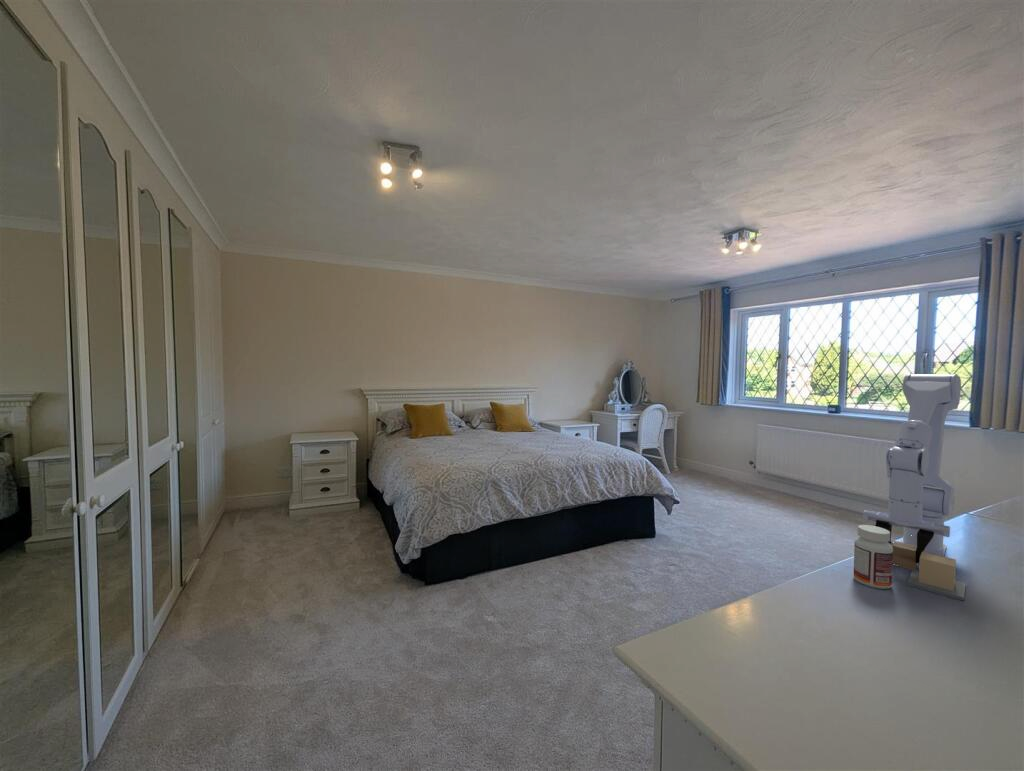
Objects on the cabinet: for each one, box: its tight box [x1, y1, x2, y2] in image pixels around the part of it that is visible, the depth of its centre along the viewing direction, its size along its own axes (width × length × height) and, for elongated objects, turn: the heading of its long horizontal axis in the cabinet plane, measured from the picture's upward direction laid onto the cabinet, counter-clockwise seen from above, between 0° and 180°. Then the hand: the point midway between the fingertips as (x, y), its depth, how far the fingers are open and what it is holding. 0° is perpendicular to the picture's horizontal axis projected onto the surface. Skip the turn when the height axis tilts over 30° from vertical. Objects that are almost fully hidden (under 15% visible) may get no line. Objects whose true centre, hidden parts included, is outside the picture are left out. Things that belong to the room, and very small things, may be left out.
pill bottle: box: [853, 524, 894, 590], centre depth 88 cm, size 6×6×11 cm
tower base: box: [906, 552, 967, 601], centre depth 88 cm, size 9×8×6 cm
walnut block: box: [890, 539, 918, 571], centre depth 97 cm, size 4×4×4 cm
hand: (902, 558), depth 97 cm, fingers closed on walnut block, 4 cm apart
